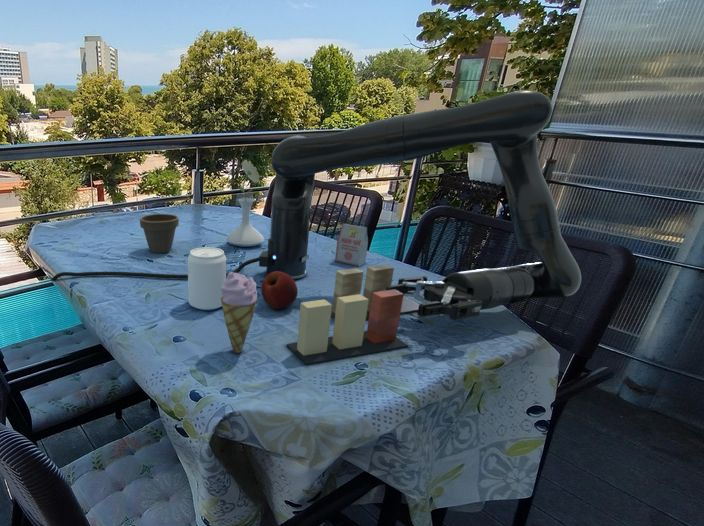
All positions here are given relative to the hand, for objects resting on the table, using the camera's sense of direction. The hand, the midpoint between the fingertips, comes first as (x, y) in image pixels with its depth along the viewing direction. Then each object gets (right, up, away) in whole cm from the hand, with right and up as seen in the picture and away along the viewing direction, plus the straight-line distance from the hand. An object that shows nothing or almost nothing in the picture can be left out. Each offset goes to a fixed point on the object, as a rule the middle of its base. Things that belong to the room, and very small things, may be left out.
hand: (402, 301), depth 83 cm
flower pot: (-45, +15, +58) cm, 75 cm away
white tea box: (+7, +10, +43) cm, 45 cm away
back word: (+1, -2, +14) cm, 15 cm away
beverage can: (-33, -1, +20) cm, 39 cm away
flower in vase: (-19, +17, +62) cm, 67 cm away
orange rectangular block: (-3, -7, +2) cm, 8 cm away
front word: (-10, -8, 0) cm, 13 cm away
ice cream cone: (-29, -9, 0) cm, 31 cm away
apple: (-18, -2, +17) cm, 25 cm away
